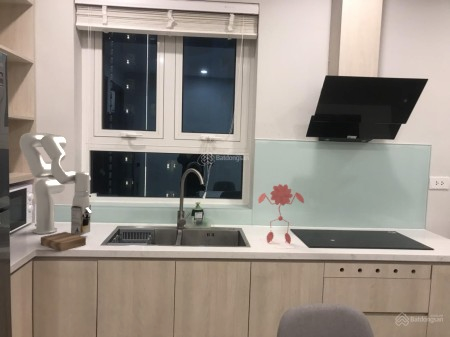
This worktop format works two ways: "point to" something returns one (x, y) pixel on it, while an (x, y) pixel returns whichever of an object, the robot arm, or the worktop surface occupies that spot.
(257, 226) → the worktop surface
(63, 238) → the board
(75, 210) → the coffee box
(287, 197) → the pink flower figurine
